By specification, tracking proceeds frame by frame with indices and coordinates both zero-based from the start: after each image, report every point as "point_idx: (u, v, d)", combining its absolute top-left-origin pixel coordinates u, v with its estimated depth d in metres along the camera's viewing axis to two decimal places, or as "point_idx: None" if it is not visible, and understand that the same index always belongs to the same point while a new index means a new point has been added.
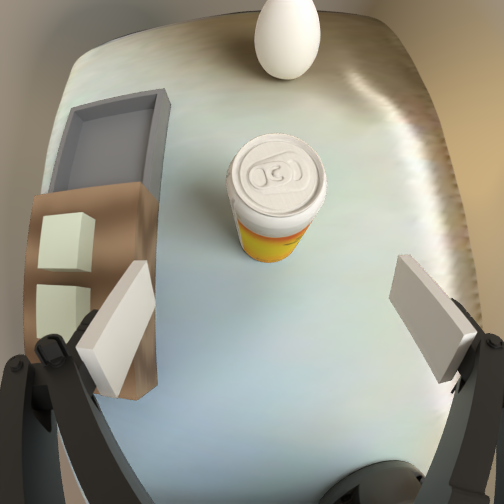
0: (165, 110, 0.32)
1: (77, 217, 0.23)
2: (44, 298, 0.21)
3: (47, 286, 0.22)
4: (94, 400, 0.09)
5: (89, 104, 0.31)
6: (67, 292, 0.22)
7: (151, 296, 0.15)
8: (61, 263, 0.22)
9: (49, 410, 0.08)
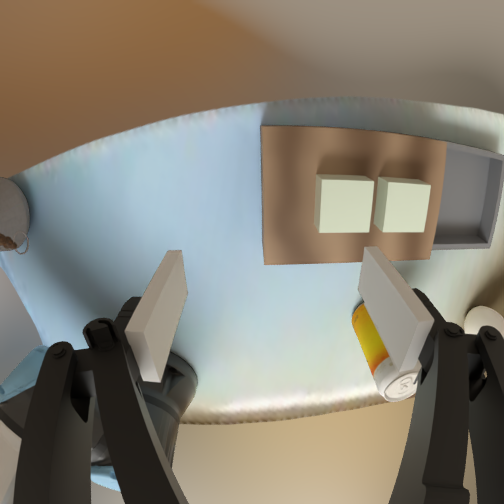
0: None
1: (421, 227, 0.27)
2: (360, 192, 0.25)
3: (371, 196, 0.25)
4: (138, 387, 0.10)
5: (502, 177, 0.28)
6: (364, 222, 0.26)
7: (184, 285, 0.16)
8: (389, 214, 0.26)
9: (88, 400, 0.09)
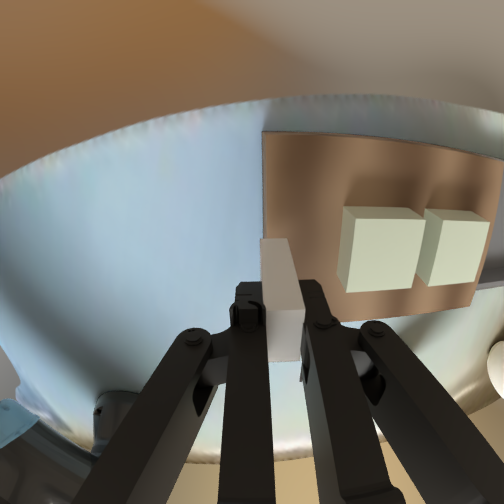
0: None
1: (472, 276, 0.18)
2: (407, 236, 0.17)
3: (420, 241, 0.17)
4: None
5: None
6: (407, 276, 0.18)
7: None
8: (438, 263, 0.18)
9: (208, 393, 0.09)
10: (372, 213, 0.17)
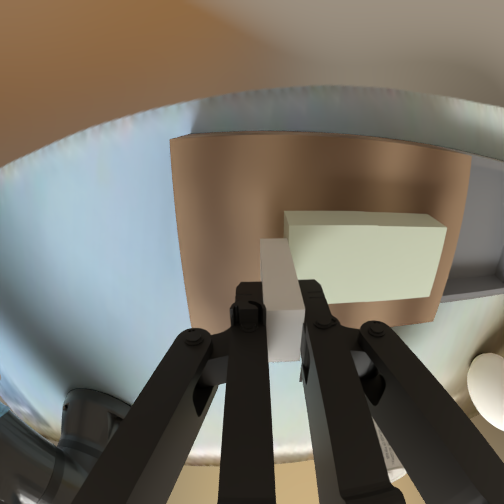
0: None
1: (425, 291, 0.17)
2: (355, 244, 0.16)
3: (372, 249, 0.16)
4: None
5: None
6: (359, 289, 0.17)
7: None
8: (376, 276, 0.17)
9: (208, 393, 0.09)
10: (313, 218, 0.16)
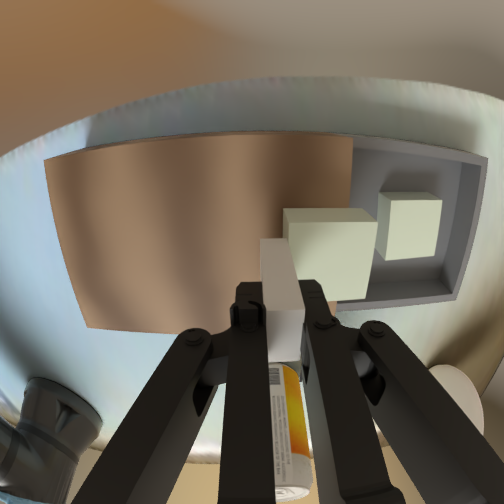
0: None
1: None
2: (355, 241, 0.16)
3: (372, 246, 0.16)
4: None
5: (481, 193, 0.19)
6: (359, 286, 0.17)
7: None
8: None
9: (208, 393, 0.09)
10: (313, 216, 0.16)
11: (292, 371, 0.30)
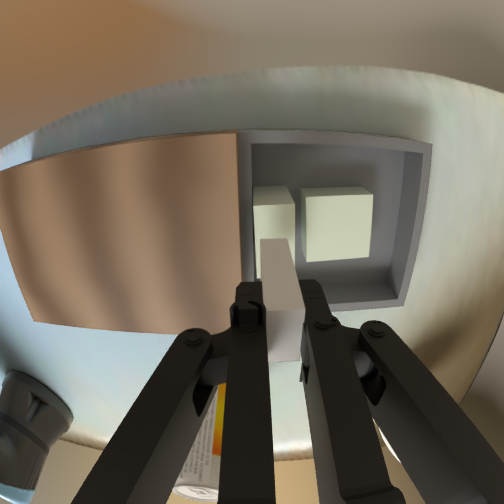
0: None
1: None
2: None
3: None
4: None
5: (425, 184, 0.19)
6: None
7: None
8: None
9: (208, 393, 0.09)
10: (276, 198, 0.19)
11: None
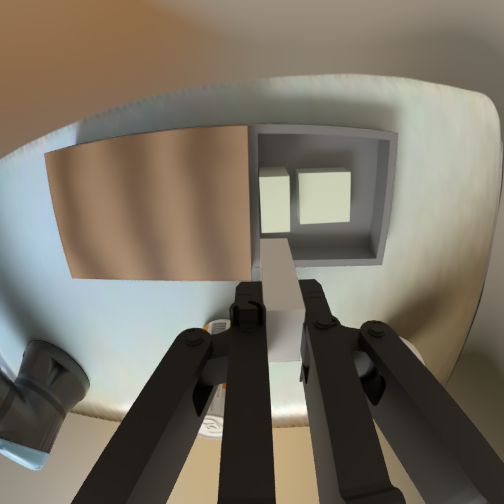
0: None
1: None
2: None
3: None
4: None
5: (393, 164, 0.25)
6: None
7: None
8: None
9: (208, 393, 0.09)
10: (276, 173, 0.25)
11: None
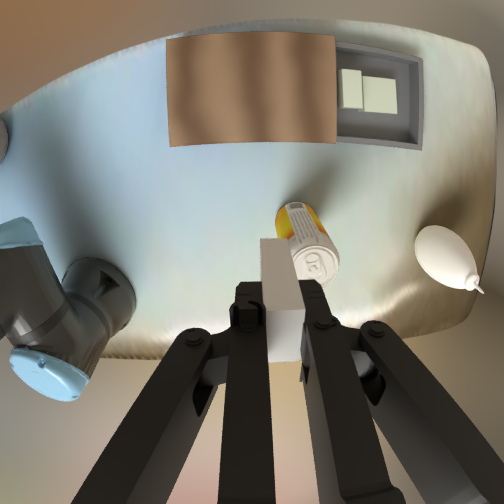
0: None
1: None
2: None
3: None
4: None
5: (421, 78, 0.30)
6: None
7: None
8: None
9: (208, 393, 0.09)
10: None
11: (311, 208, 0.42)
